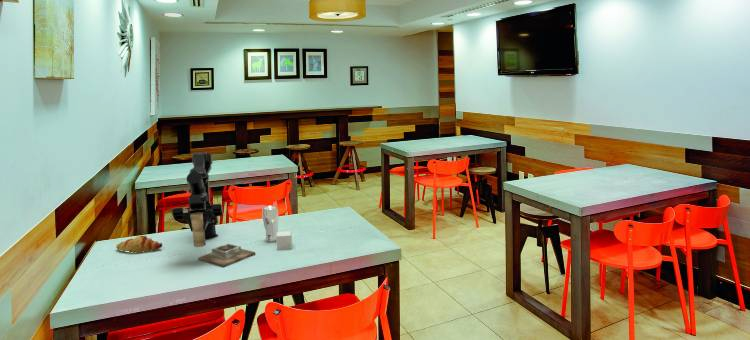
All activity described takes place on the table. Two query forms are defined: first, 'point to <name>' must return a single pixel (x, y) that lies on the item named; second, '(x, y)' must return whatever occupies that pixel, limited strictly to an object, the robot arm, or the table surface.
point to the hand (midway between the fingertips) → (197, 230)
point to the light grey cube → (284, 240)
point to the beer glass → (270, 222)
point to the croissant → (139, 244)
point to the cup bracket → (226, 255)
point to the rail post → (198, 229)
